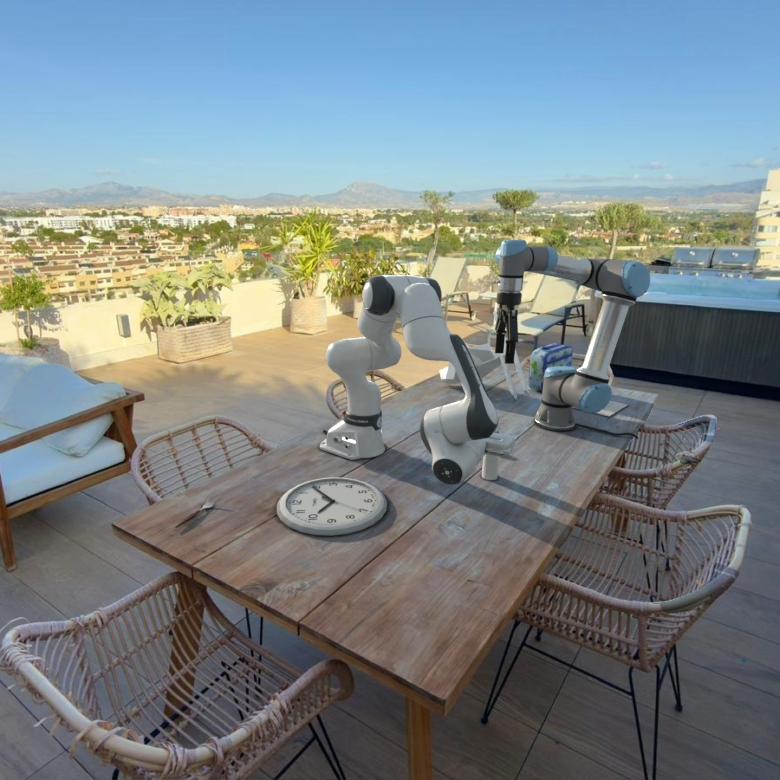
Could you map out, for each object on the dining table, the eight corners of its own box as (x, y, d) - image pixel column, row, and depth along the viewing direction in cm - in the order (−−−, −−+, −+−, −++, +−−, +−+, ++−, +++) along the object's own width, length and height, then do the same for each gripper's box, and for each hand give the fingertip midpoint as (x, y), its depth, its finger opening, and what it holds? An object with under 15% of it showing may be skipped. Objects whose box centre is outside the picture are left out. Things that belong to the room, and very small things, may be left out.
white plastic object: (461, 429, 252) (437, 405, 227) (444, 352, 274) (420, 323, 250) (535, 404, 240) (518, 377, 215) (510, 326, 262) (492, 293, 237)
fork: (171, 528, 130) (170, 521, 130) (212, 499, 145) (211, 492, 144) (179, 530, 129) (178, 523, 129) (220, 500, 144) (219, 494, 143)
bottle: (484, 480, 158) (489, 419, 152) (479, 473, 163) (484, 413, 157) (499, 479, 159) (505, 418, 153) (494, 472, 163) (499, 412, 157)
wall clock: (392, 527, 129) (268, 531, 127) (391, 533, 130) (269, 537, 127) (383, 473, 158) (282, 475, 155) (383, 478, 158) (282, 480, 156)
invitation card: (608, 416, 214) (573, 407, 224) (608, 416, 214) (573, 408, 224) (628, 404, 229) (594, 396, 238) (628, 405, 229) (594, 397, 238)
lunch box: (544, 395, 239) (549, 351, 233) (524, 390, 247) (528, 347, 240) (571, 384, 257) (577, 343, 251) (552, 380, 264) (556, 339, 258)
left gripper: (509, 443, 127) (522, 425, 139) (431, 429, 135) (449, 413, 147) (507, 467, 129) (519, 447, 141) (430, 451, 137) (448, 433, 149)
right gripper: (489, 286, 174) (484, 349, 180) (507, 296, 150) (501, 367, 156) (511, 287, 174) (506, 349, 180) (533, 296, 150) (526, 368, 156)
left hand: (483, 429), depth 144 cm, fingers open, 8 cm apart
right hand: (503, 358), depth 168 cm, fingers open, 13 cm apart
